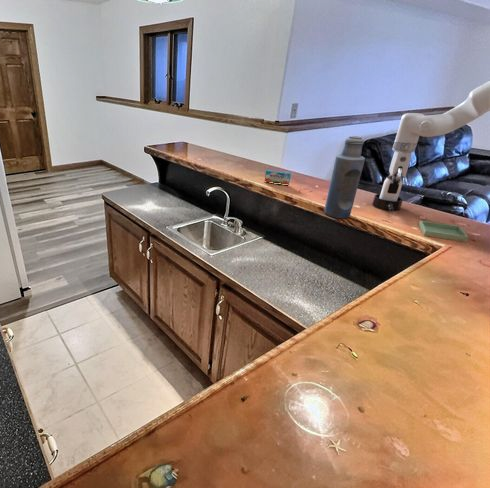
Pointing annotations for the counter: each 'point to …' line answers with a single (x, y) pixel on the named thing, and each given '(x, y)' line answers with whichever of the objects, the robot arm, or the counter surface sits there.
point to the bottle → (345, 179)
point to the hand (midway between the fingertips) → (390, 190)
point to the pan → (387, 203)
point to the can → (384, 193)
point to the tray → (443, 231)
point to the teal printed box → (277, 177)
